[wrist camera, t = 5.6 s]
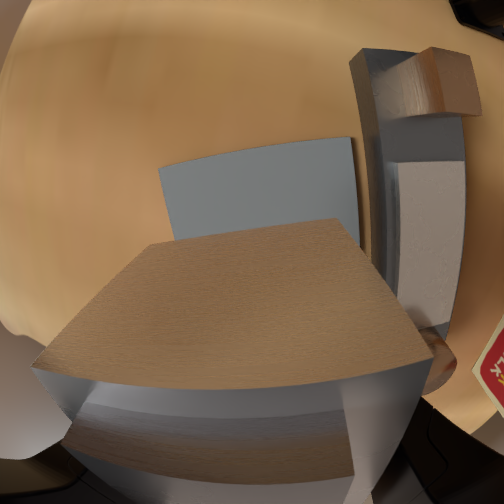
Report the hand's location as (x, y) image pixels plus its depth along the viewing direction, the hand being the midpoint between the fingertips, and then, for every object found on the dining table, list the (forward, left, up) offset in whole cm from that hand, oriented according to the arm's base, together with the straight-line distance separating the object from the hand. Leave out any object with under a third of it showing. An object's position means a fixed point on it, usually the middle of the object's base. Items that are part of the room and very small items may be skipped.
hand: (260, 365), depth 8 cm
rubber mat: (0, 0, -11) cm, 11 cm away
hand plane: (-10, 0, -11) cm, 15 cm away
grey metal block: (0, 0, -1) cm, 1 cm away
